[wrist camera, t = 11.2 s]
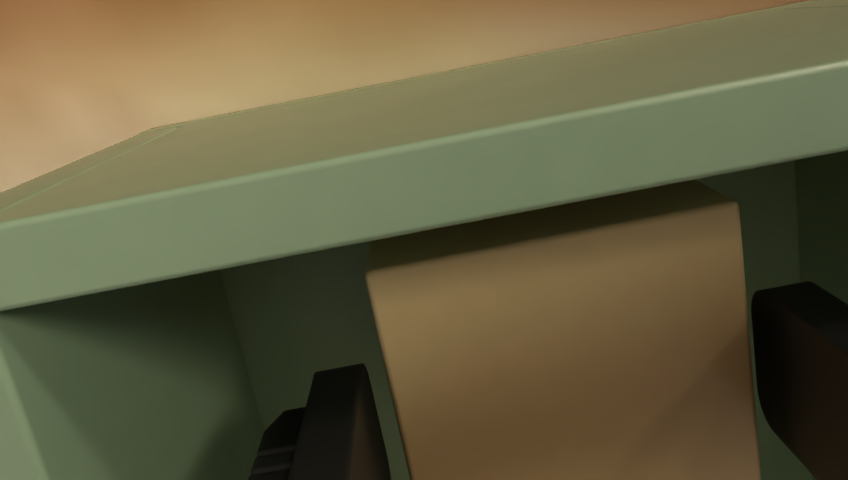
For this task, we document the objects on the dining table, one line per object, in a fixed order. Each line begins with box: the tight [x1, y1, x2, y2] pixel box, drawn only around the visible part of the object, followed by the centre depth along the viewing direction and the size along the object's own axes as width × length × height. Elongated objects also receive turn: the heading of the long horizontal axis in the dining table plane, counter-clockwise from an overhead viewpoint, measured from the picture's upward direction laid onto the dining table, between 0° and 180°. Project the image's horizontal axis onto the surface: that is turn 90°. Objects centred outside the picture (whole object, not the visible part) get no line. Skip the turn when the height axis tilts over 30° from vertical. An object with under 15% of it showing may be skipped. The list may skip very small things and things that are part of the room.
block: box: [365, 179, 761, 480], centre depth 13 cm, size 5×5×5 cm
